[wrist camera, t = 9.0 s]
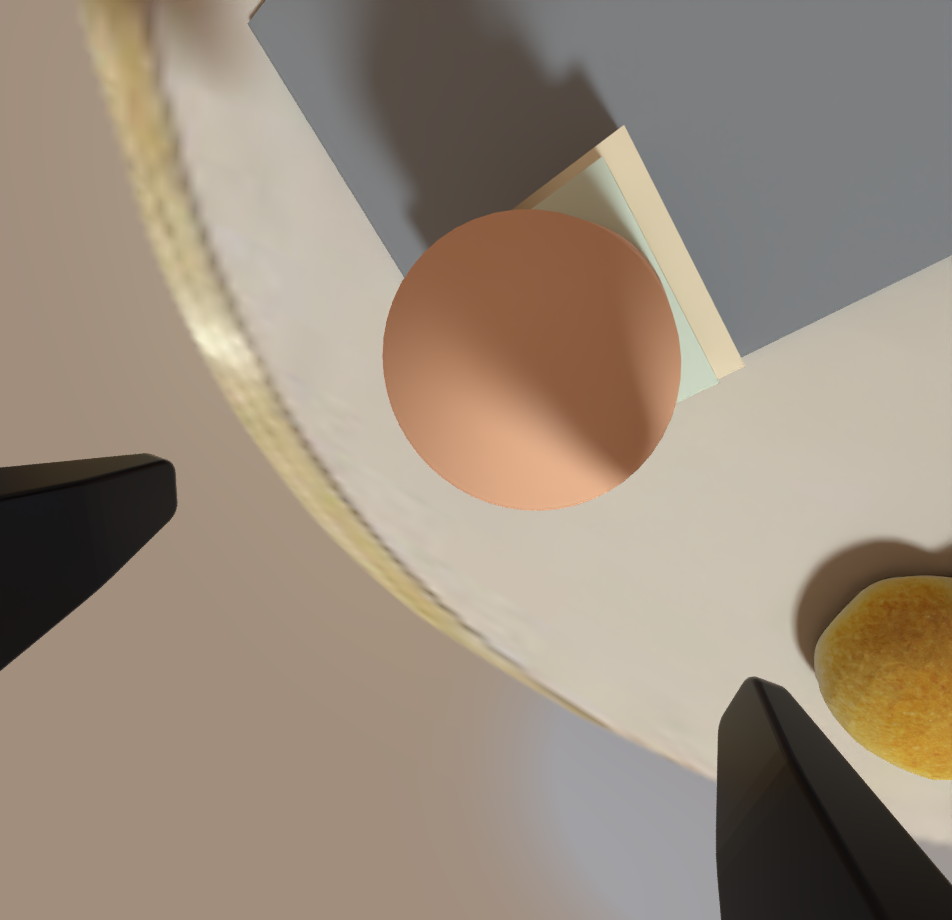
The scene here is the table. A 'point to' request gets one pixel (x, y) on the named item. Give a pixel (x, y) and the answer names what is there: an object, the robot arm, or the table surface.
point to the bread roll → (894, 672)
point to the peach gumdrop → (532, 359)
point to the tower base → (657, 243)
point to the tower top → (606, 205)
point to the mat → (649, 127)
